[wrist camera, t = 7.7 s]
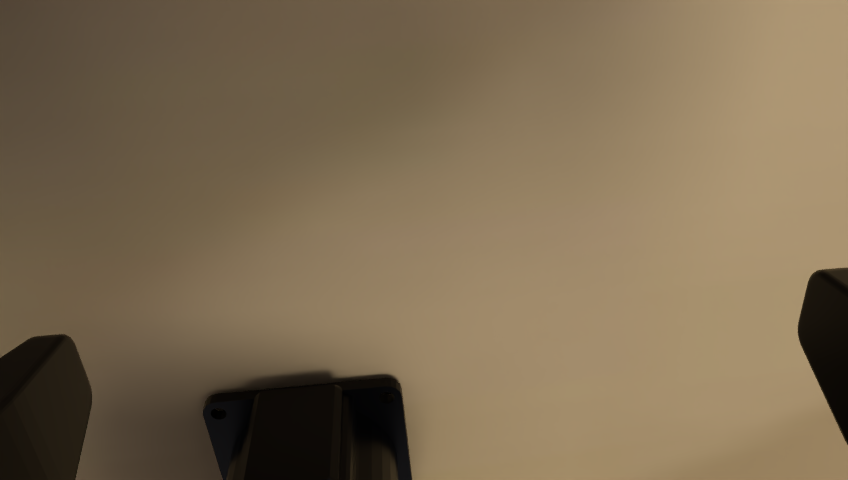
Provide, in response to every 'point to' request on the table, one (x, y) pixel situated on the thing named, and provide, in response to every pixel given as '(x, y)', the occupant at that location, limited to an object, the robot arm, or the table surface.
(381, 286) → the table surface
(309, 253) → the table surface
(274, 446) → the robot arm
